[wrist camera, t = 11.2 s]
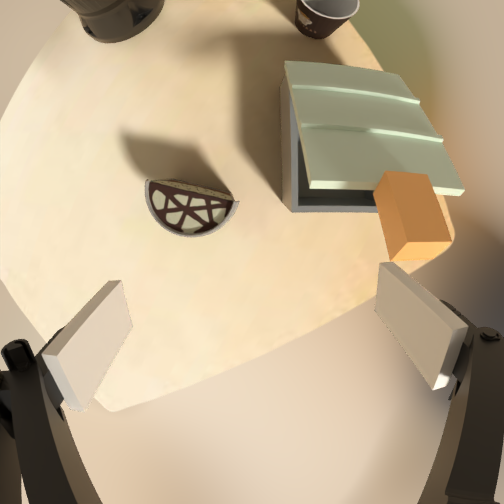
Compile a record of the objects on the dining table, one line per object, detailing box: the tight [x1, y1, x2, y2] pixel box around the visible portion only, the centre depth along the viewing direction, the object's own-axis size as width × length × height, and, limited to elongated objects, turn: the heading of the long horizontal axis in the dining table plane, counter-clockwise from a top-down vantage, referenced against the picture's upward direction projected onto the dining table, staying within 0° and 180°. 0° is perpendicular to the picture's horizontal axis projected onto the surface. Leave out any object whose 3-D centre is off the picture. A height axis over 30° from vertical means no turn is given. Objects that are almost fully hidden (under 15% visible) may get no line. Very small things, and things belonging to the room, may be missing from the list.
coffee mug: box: [295, 0, 360, 39], centre depth 31 cm, size 12×9×10 cm
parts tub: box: [280, 74, 378, 213], centre depth 38 cm, size 18×14×10 cm
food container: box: [145, 179, 239, 237], centre depth 40 cm, size 12×6×10 cm, turn 75°
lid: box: [284, 61, 465, 261], centre depth 24 cm, size 25×15×3 cm
